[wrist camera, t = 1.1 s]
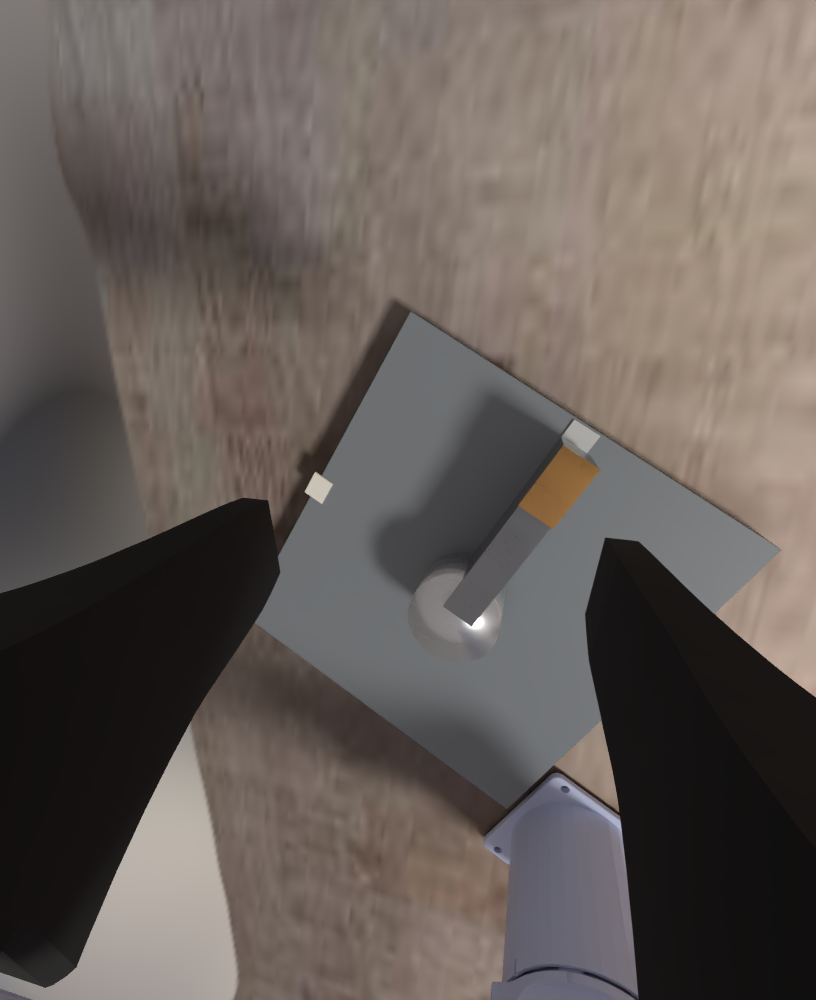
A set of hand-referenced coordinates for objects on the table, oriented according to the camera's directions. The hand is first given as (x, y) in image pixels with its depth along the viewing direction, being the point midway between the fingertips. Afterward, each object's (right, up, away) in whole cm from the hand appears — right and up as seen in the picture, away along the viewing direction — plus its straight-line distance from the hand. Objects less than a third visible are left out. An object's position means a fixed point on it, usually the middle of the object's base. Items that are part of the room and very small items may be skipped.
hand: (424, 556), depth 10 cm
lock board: (+3, -3, +16) cm, 17 cm away
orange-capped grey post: (+4, -1, +13) cm, 14 cm away
